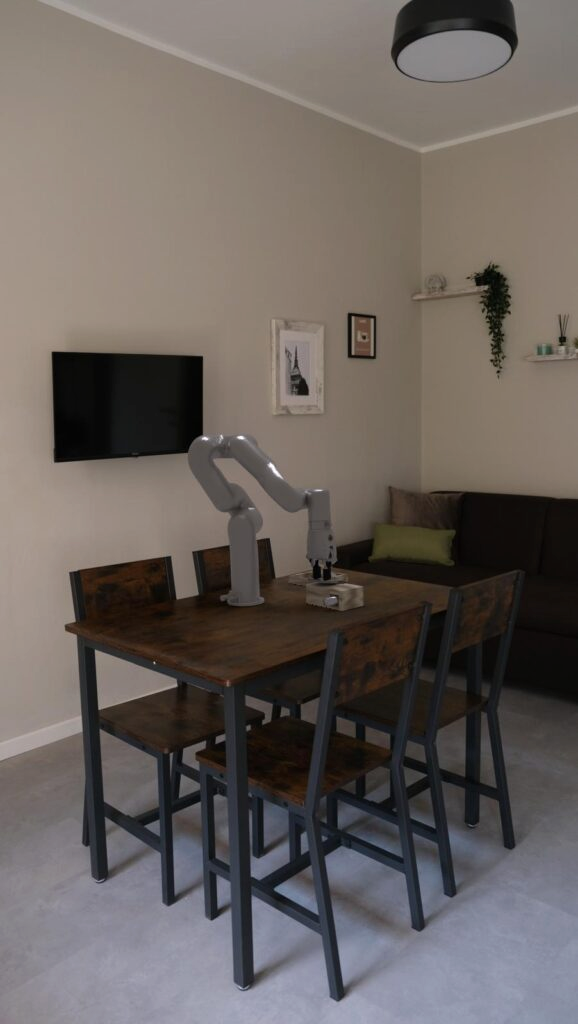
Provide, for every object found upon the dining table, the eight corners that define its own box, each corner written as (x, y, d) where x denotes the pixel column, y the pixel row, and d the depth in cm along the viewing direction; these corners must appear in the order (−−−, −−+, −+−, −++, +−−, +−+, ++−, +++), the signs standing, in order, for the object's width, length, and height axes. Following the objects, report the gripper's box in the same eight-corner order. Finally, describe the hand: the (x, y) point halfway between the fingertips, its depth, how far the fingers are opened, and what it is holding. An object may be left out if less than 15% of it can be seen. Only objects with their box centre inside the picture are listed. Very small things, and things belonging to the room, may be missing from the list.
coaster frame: (316, 588, 305) (316, 580, 305) (288, 583, 316) (288, 575, 316) (347, 582, 316) (347, 574, 315) (319, 577, 327) (319, 569, 327)
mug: (332, 586, 310) (319, 563, 311) (317, 594, 317) (303, 572, 318) (344, 578, 315) (331, 555, 316) (329, 586, 322) (315, 564, 323)
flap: (322, 583, 275) (322, 580, 275) (307, 580, 280) (308, 578, 280) (341, 583, 281) (341, 580, 281) (326, 580, 286) (327, 578, 286)
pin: (330, 610, 267) (330, 596, 267) (321, 608, 270) (320, 594, 270) (363, 602, 277) (362, 589, 277) (353, 600, 280) (353, 587, 280)
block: (342, 611, 269) (341, 587, 268) (306, 603, 282) (305, 581, 281) (363, 605, 276) (363, 583, 275) (327, 598, 288) (327, 576, 287)
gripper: (345, 525, 273) (348, 580, 275) (310, 522, 286) (313, 575, 287) (329, 528, 268) (331, 584, 270) (294, 525, 281) (297, 578, 283)
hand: (322, 578), depth 279 cm, fingers closed on flap, 4 cm apart
